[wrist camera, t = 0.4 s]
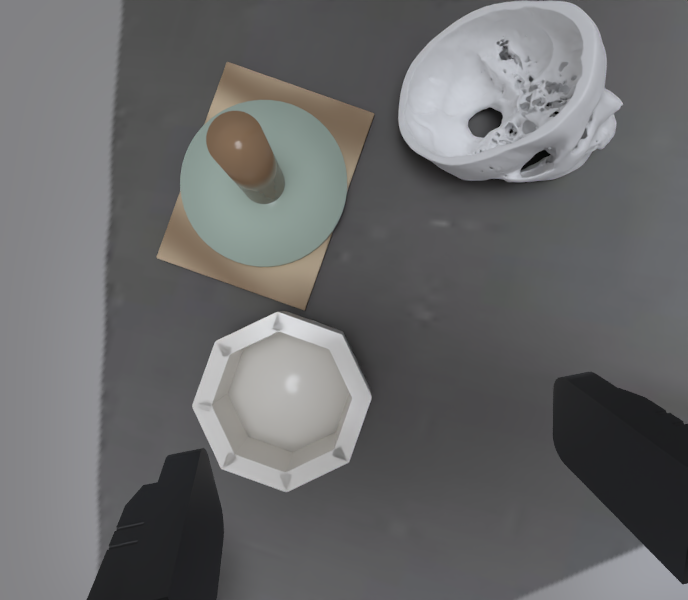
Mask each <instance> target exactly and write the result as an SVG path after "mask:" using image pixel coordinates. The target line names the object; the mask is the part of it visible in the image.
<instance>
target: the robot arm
mask: <svg viewBox="0 0 688 600" xmlns="http://www.w3.org/2000/svg"><path fill="white" fill-rule="evenodd" d="M553 441H554V445H555V448H556V451H557V453H558V455H559V457H560V458H561V460H562V461H563V463H564V464H565V465H566V466H567V467H568V468H569V469H570V470H571V471H572V472H573V473H574V474H575V475H576V476H577V477H578V478H579V479H580V480H581V481H582V482H583V483H584V484H585V485H586V486H587V487H588V488H589V489H590V490H591V491H592V492H593V493H594V494H595V495H596V496H597V497H598V499H599V500H600V501H601V502H602V503H603V504H604V505H605V506H606V507H607V508H608V509H609V510H610V511H611V512H612V513H613V514H614V515H615V516H616V517H617V518H618V519H619V520H620V521H621V522H622V523H623V524H624V525H625V526H626V527H627V528H628V529H629V530H630V531H631V532H632V533H633V534H634V535H635V536H636V537H637V538H638V539H639V540H640V541H641V542H642V543H643V544H644V545H645V547H646V548H647V549H649V551H650V552H651V553H652V554H653V555H654V556H655V557H656V558H657V559H658V560H659V561H661V563H662V564H663V565H664V566H665V567H666V568H667V569H668V570H669V571H670V572H671V573H672V574H673V575H674V576H675V577H676V578H677V579H678V580H679V581H680V582H681V583H682V584H686V583H688V424H685V425H684V423H683V421H682V420H680V419H679V418H677V417H675V416H674V415H672V414H671V413H666V410H664V409H663V408H661V407H660V406H658V405H656V404H655V403H653V402H652V401H650V400H648V399H647V398H645V397H643V396H640V395H637V394H634V393H632V392H629V391H626V390H623V389H620V388H617V387H615V386H614V385H612V384H611V383H609V382H608V381H606V380H604V379H603V378H601V377H600V376H598V375H597V374H595V373H593V372H585V373H580V374H575V375H570V376H565V377H560V378H558V379H557V380H556V381H555V383H554V391H553ZM223 537H224V525H223V514H222V508H221V504H220V500H219V496H218V492H217V488H216V484H215V481H214V477H213V473H212V469H211V465H210V461H209V457H208V454H207V452H206V450H205V449H204V448H202V449H197V450H192V451H187V452H182V453H177V454H172V455H168V456H167V457H166V460H165V463H164V466H163V469H162V471H161V474H160V477H159V480H158V482H157V483H152V484H148V485H143V486H142V487H141V489H140V490H139V491H138V492H137V493H136V494H135V495H134V496H133V498H132V499H131V500H130V501H129V502H128V503H127V504H126V505H125V508H124V510H123V513H122V515H121V518H120V520H119V522H118V525H117V531H115V532H114V535H113V537H112V539H111V542H110V544H109V550H107V552H106V554H105V557H104V559H103V561H102V564H101V566H100V569H99V571H98V574H97V576H96V578H95V581H94V584H93V586H92V588H91V591H90V593H89V596H88V598H87V600H216V598H217V590H218V581H219V572H220V564H221V555H222V546H223Z"/></svg>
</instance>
